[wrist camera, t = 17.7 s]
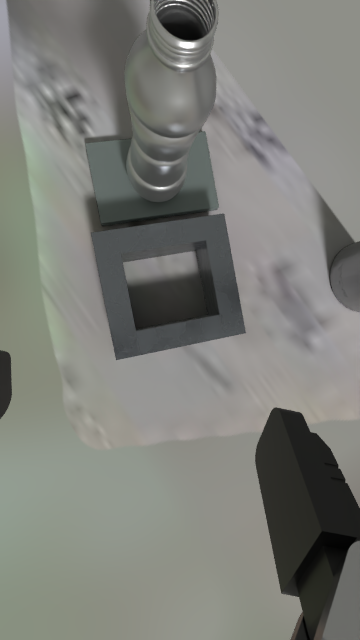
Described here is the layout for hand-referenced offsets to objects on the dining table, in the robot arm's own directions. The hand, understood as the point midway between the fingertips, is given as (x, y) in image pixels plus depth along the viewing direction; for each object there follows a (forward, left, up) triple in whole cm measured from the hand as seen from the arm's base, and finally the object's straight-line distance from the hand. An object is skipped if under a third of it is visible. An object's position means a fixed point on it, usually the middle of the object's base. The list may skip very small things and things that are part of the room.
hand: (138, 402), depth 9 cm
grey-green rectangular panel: (-6, -18, -27) cm, 33 cm away
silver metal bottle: (-6, -18, -26) cm, 32 cm away
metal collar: (-5, -5, -27) cm, 28 cm away
